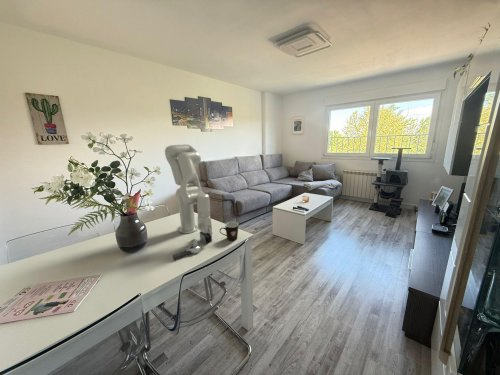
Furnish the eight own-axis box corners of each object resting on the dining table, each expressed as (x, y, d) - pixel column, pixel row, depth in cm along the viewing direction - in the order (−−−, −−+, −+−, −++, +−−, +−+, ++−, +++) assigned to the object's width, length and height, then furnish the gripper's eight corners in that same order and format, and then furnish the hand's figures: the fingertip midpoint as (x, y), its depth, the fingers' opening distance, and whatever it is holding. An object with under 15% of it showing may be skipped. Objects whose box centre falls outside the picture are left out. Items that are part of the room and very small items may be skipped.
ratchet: (171, 256, 114) (170, 245, 112) (197, 246, 124) (196, 236, 122) (176, 262, 109) (175, 250, 107) (203, 251, 119) (202, 240, 117)
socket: (200, 240, 131) (199, 232, 129) (207, 238, 134) (207, 229, 133) (204, 244, 127) (203, 235, 125) (212, 241, 130) (211, 232, 129)
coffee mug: (239, 235, 137) (239, 221, 134) (237, 242, 129) (237, 227, 126) (222, 235, 138) (222, 221, 136) (219, 241, 130) (218, 227, 127)
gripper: (192, 211, 130) (194, 237, 134) (205, 219, 117) (207, 247, 122) (202, 208, 135) (204, 233, 139) (216, 215, 122) (218, 243, 127)
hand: (206, 239), depth 131 cm, fingers closed on socket, 5 cm apart
